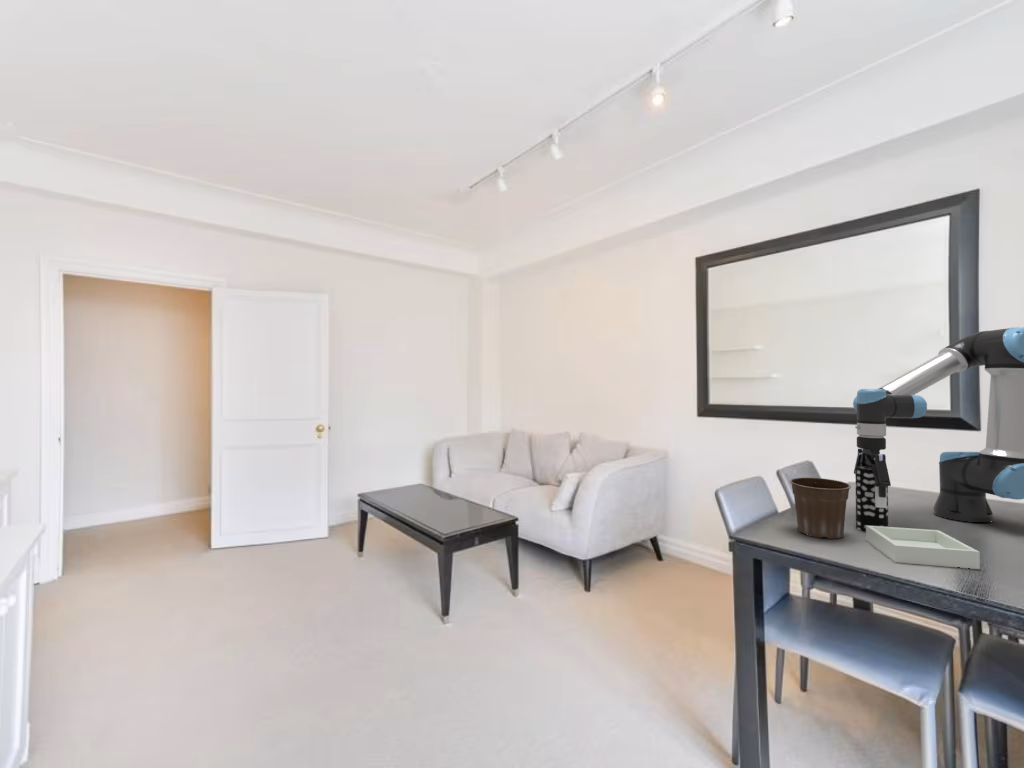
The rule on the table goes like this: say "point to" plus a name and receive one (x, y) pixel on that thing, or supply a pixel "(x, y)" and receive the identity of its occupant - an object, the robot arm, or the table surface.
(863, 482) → the spotted tube
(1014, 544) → the table surface
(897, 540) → the tray
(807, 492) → the plant pot
